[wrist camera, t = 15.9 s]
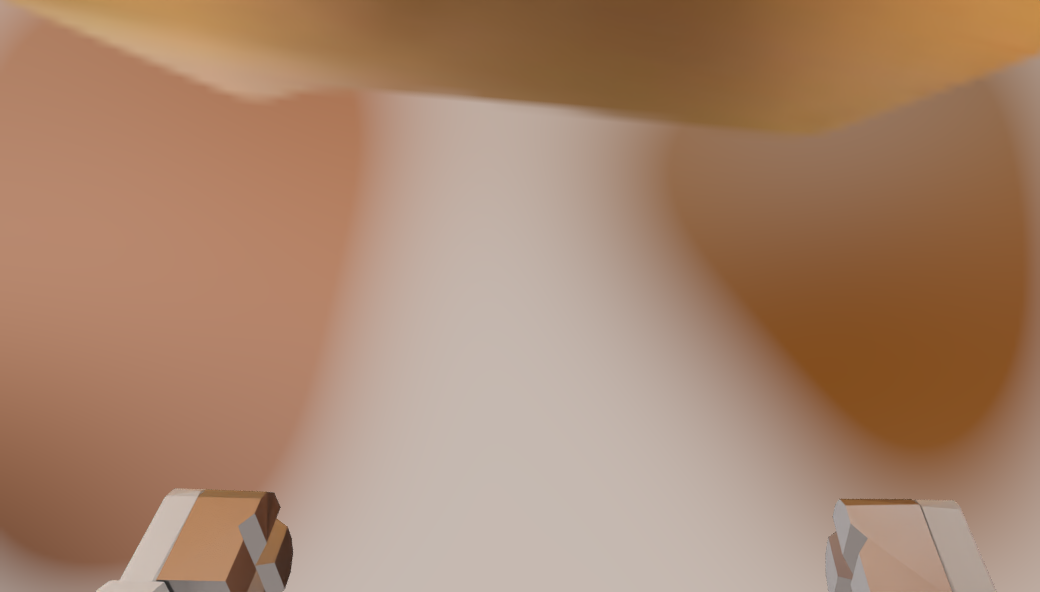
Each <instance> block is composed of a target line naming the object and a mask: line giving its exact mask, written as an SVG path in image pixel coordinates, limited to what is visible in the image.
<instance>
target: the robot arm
mask: <svg viewBox="0 0 1040 592" xmlns="http://www.w3.org/2000/svg"><path fill="white" fill-rule="evenodd" d="M280 508H281V507H280V505H279V503H278V500H277V498H276V496H275V493H273V492H258V491H257V492H255V491H234V490H209V489H174V490H173V491H171V492H170V493H169V494H168V495H167V496H166V497H165V498H164V500H163V502H162V504H161V505H160V507H159V509H158V511H157V513H156V515H155V517H154V518H153V520H152V522H151V524H150V526H149V527H148V530H147V531H146V533H145V535H144V537H143V539H142V540H141V542H140V544H139V546H138V548H137V549H136V551H135V553H134V555H133V557H132V558H131V560H130V562H129V564H128V566H127V568H126V570H125V572H124V573H123V575H122V577H121V579H120V580H110V581H109V582H107V583H106V584H105V585H103V586H102V587H101V588H99V589H98V590H97V591H95V592H282V591H283V590H284V589H285V587H286V584H287V581H288V578H289V575H290V572H291V565H292V557H293V547H292V538H291V535H290V532H289V529H288V527H287V526H286V525H285V524H283V523H282V522H281V521H279V520H278V519H277V515H278V513H279V510H280ZM833 519H834V523H835V527H836V532H835V533H833V534H832V535H831V536H829V537H828V542H827V548H826V578H827V585H828V591H829V592H997V591H996V589H995V586H994V584H993V582H992V579H991V577H990V575H989V572H988V570H987V568H986V565H985V563H984V561H983V559H982V556H981V554H980V552H979V549H978V547H977V545H976V542H975V540H974V538H973V536H972V533H971V531H970V529H969V526H968V524H967V522H966V519H965V517H964V515H963V512H962V510H961V508H960V506H959V505H958V504H957V503H956V502H955V501H954V500H912V499H839V500H838V502H837V503H836V505H835V509H834V514H833Z"/></svg>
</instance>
